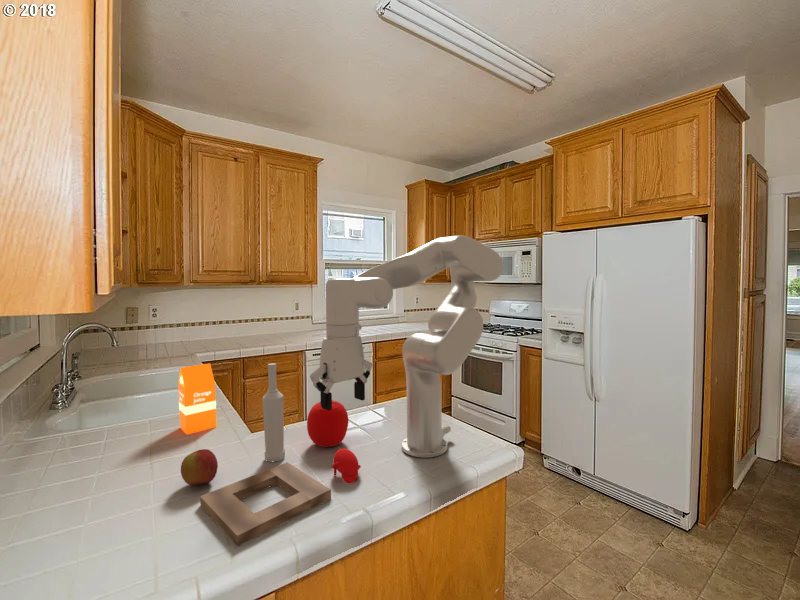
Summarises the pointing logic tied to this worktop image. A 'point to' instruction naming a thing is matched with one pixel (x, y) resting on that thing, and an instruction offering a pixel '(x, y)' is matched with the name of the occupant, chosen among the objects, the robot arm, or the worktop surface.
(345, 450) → the red rounded piece
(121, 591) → the worktop surface
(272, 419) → the bottle
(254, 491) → the walnut board
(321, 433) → the tomato
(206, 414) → the orange juice
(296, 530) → the worktop surface
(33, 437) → the worktop surface
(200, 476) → the apple
